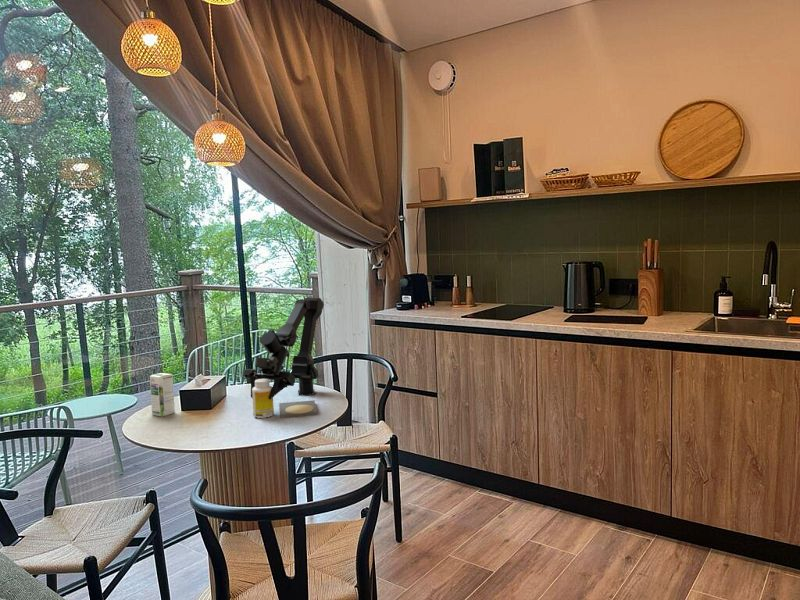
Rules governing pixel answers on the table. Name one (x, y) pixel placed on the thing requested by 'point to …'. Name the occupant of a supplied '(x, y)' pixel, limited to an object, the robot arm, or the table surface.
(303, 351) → the robot arm
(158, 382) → the syrup box
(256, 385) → the supplement bottle
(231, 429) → the table surface
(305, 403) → the plate
